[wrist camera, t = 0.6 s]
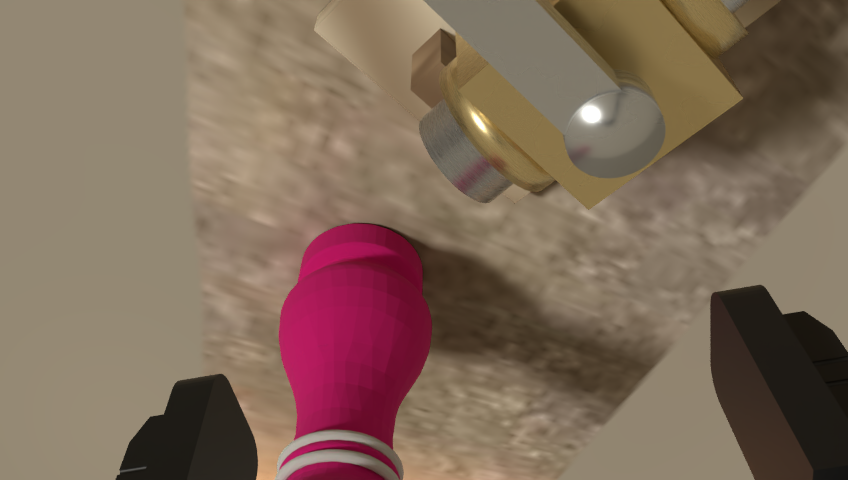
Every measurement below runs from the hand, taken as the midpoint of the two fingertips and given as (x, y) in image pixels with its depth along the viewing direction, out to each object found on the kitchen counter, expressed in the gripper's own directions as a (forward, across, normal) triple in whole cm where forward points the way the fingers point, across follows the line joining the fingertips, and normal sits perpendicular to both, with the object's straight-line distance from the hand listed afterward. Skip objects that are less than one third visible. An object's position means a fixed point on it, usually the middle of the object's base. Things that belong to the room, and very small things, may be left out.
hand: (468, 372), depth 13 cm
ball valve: (+19, -5, +1) cm, 20 cm away
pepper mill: (+24, +6, +14) cm, 29 cm away
